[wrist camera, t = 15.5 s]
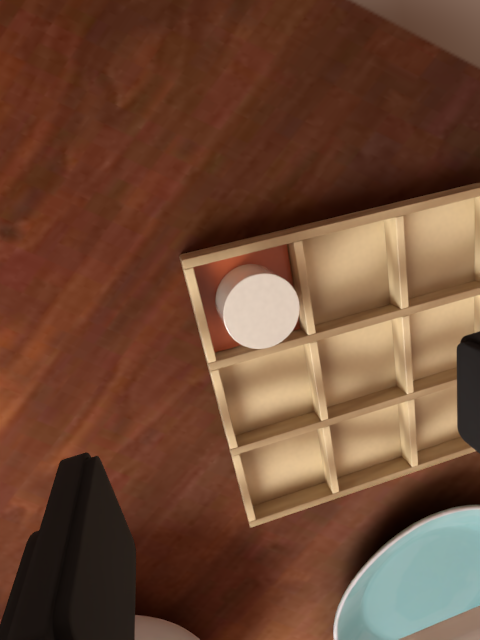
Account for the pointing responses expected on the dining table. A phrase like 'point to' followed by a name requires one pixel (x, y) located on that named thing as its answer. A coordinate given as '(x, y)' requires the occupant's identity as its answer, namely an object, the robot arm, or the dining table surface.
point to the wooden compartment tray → (346, 350)
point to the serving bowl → (160, 630)
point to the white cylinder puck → (257, 306)
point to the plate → (415, 579)
